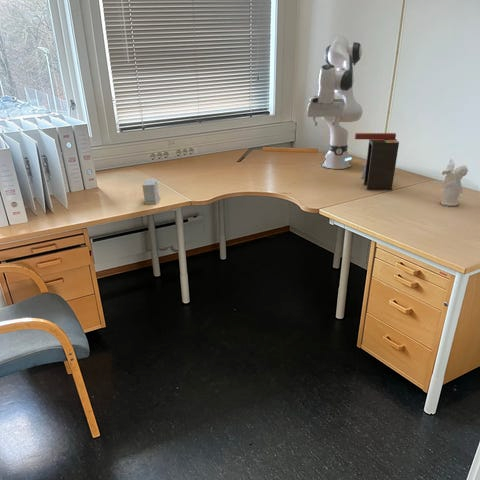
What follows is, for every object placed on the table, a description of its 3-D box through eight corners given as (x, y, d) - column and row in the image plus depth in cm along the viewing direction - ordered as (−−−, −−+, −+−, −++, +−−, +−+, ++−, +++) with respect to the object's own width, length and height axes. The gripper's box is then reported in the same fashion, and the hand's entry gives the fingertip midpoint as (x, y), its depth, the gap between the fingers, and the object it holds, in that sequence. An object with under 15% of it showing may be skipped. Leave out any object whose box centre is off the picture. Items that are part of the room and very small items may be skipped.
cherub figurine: (463, 206, 248) (473, 162, 237) (442, 208, 245) (451, 165, 234) (448, 199, 258) (457, 157, 247) (428, 201, 255) (436, 159, 244)
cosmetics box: (148, 198, 267) (145, 179, 262) (159, 198, 267) (157, 179, 262) (144, 204, 258) (141, 184, 253) (156, 204, 258) (154, 184, 253)
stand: (363, 183, 285) (369, 137, 271) (387, 184, 284) (394, 137, 270) (366, 189, 274) (373, 142, 261) (391, 190, 274) (399, 142, 260)
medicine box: (376, 179, 293) (378, 164, 288) (373, 180, 290) (375, 166, 285) (365, 176, 297) (367, 162, 293) (361, 178, 295) (363, 164, 290)
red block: (354, 138, 270) (355, 133, 268) (394, 138, 269) (395, 133, 267) (355, 139, 268) (355, 134, 266) (395, 139, 266) (396, 134, 265)
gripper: (344, 97, 263) (342, 123, 271) (307, 97, 265) (306, 124, 273) (345, 99, 258) (343, 126, 265) (307, 99, 260) (306, 126, 267)
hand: (324, 125), depth 269 cm, fingers open, 8 cm apart
